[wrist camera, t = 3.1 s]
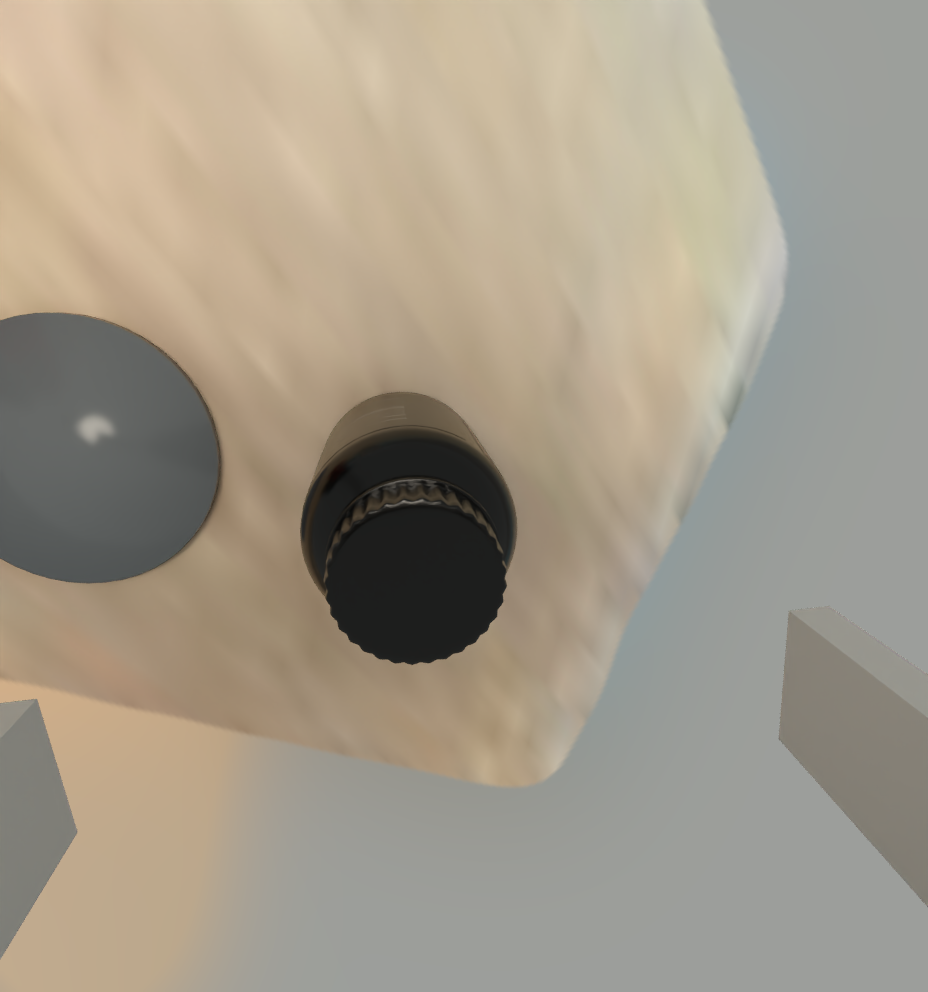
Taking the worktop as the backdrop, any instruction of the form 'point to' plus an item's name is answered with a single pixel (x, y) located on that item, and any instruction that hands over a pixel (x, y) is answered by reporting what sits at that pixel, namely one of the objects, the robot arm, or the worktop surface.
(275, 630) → the worktop surface
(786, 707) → the robot arm
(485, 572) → the supplement bottle
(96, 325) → the coaster
